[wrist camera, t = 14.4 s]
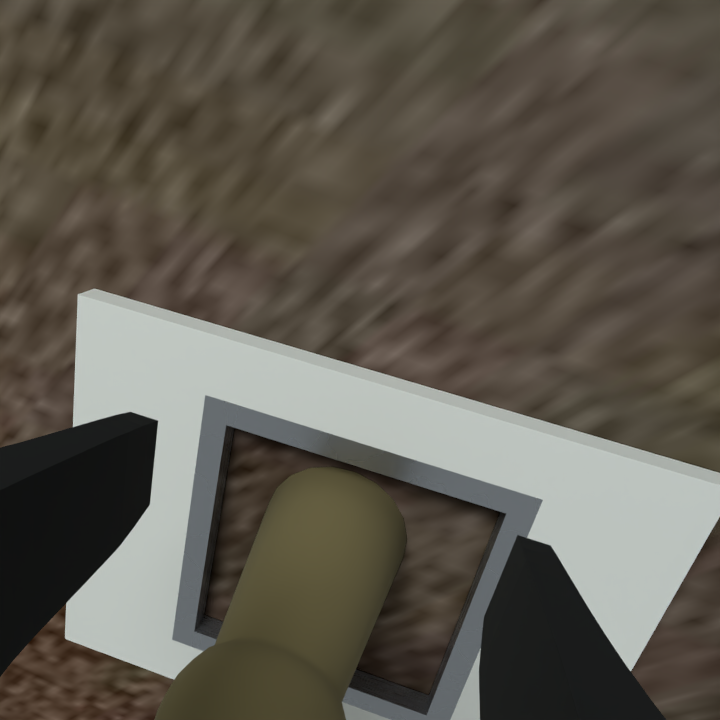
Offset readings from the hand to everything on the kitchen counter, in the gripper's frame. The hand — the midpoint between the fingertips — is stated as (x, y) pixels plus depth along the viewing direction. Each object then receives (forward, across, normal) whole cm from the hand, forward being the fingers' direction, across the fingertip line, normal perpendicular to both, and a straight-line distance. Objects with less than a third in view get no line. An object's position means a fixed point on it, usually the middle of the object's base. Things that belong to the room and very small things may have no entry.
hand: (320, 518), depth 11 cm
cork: (+11, +1, +8) cm, 14 cm away
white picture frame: (+10, 0, +10) cm, 14 cm away
